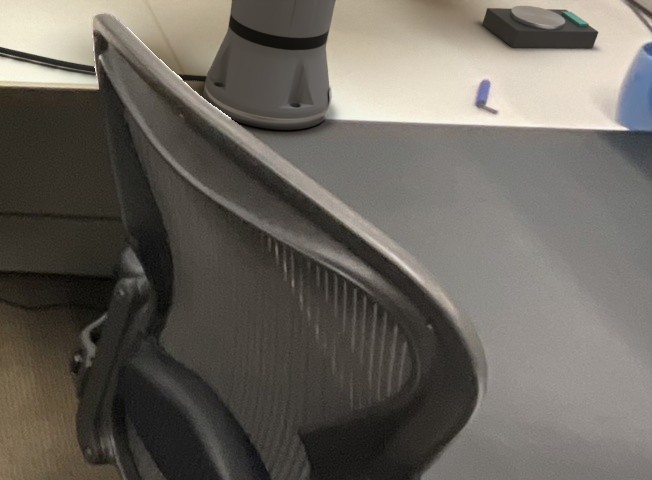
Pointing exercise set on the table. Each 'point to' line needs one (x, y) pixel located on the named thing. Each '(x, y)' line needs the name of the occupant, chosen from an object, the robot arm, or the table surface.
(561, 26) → the scale
